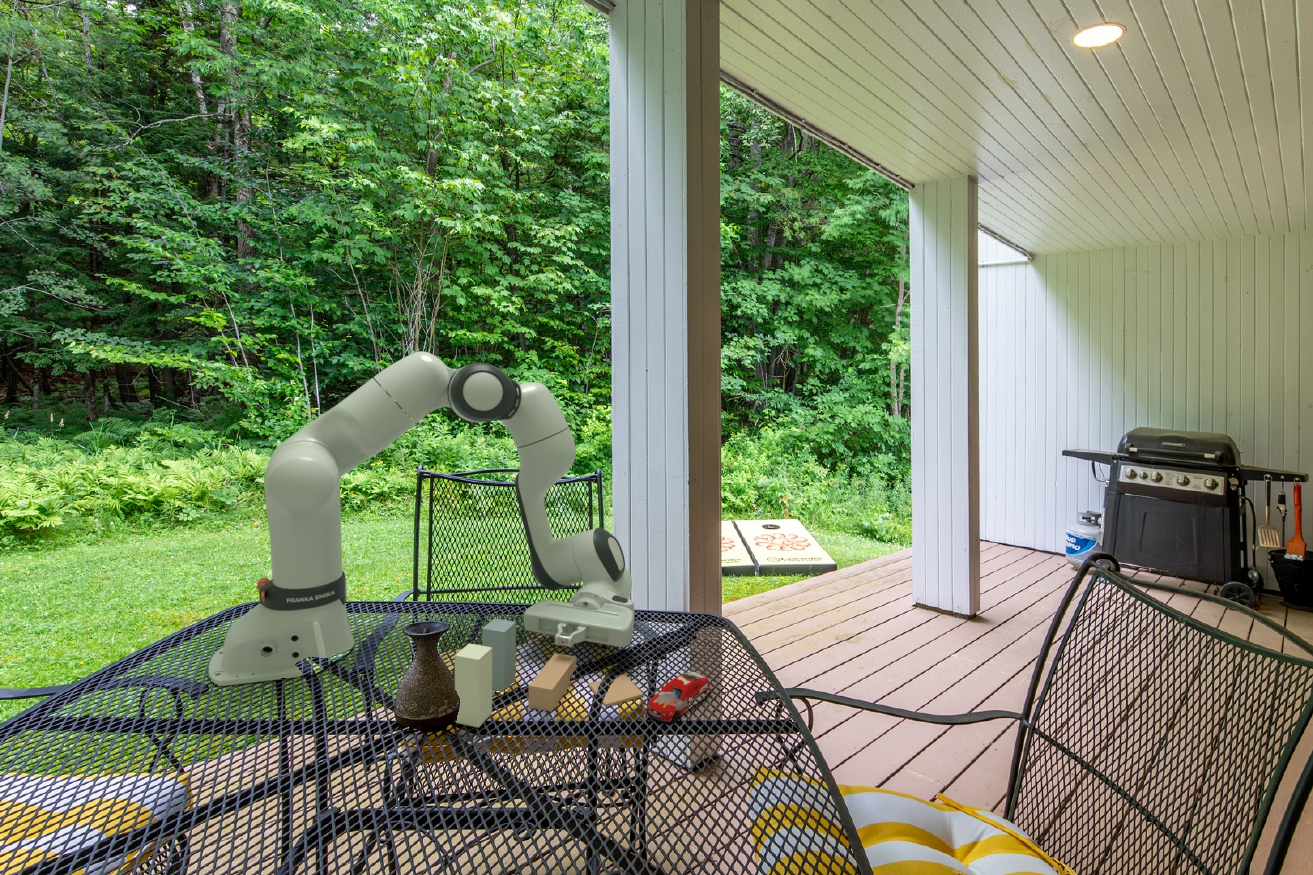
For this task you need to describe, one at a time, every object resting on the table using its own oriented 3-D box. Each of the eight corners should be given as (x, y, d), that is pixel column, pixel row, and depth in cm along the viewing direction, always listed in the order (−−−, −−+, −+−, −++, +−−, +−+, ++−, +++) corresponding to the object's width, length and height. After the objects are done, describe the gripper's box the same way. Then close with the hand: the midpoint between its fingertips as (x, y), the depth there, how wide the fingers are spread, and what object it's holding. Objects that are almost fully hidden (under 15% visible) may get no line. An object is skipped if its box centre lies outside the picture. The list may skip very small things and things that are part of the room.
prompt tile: (605, 707, 103) (605, 704, 102) (587, 686, 108) (588, 683, 108) (643, 696, 106) (643, 693, 106) (624, 676, 112) (624, 674, 112)
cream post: (478, 727, 96) (478, 659, 94) (455, 722, 97) (454, 655, 95) (491, 713, 100) (492, 647, 98) (469, 708, 101) (469, 643, 99)
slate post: (503, 694, 105) (504, 632, 103) (482, 690, 106) (482, 628, 104) (515, 682, 109) (515, 622, 107) (494, 678, 110) (494, 618, 108)
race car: (666, 730, 98) (667, 706, 97) (640, 716, 101) (641, 692, 101) (715, 695, 108) (716, 673, 107) (689, 683, 111) (690, 662, 111)
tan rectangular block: (575, 677, 111) (551, 713, 101) (554, 674, 112) (528, 708, 102) (576, 656, 111) (552, 689, 100) (554, 653, 112) (528, 685, 101)
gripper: (541, 586, 124) (507, 615, 111) (641, 602, 119) (618, 634, 106) (541, 617, 125) (507, 649, 112) (640, 633, 120) (617, 669, 107)
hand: (562, 642), depth 109 cm, fingers closed
